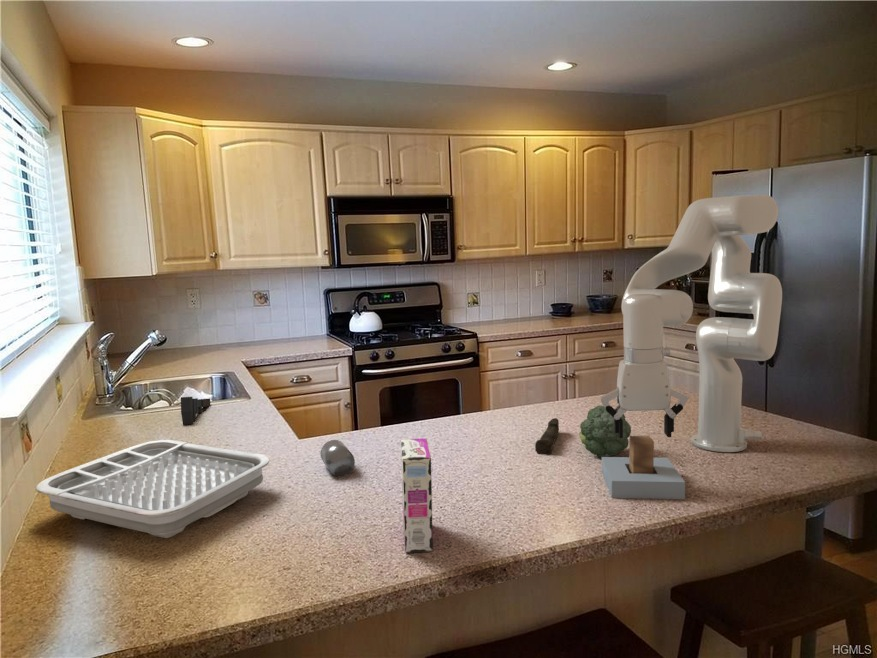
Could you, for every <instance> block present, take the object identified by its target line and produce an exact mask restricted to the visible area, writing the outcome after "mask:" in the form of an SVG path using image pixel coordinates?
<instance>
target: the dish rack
mask: <svg viewBox="0 0 877 658" xmlns="http://www.w3.org/2000/svg"><path fill="white" fill-rule="evenodd" d="M270 462H271V460H270V458H269V457H268V456H267V455H265V454H261V453H260V454H259V453H255V452H248V451H247V452H246V451H242V450H241V451H240V450H235V449H230V448H229V449H228V448H221V447H215V446H208V445H202V444H201V445H200V444H194V443H189V442H187V441H180V440H172V439H158V440H150V441H147V442H146V441H145V442H142V443H138V444H136V445H133V446H130V447H127V448H124V449H121V450H119V451H116V452H113V453H110V454H108V455H105V456H102V457H99V458H96V459H94V460H91V461H89V462H86V463H83V464H81V465H77V466H75V467H72V468H69V469H67V470H63V471H62V472H59V473H57V474H55V475H51V476H50V477H46V478H45V479H43V480H42V481H40V482H39V483H38V484H37V485H36V486H35V491H36V492H37V493H39V494H42V495H46V496H48V498H49V505H50V506H49V507H50V508H51V509H52V510H53V511H56V512H60V513H64V514H68V515H70V516H71V517H72V518H76V519H78V520H79V519H80V520H85V519H87V520H91V521H95V522H98V523H103V524H107V525H111V526H116V527H119V528H124V529H129V530H133V531H138V532H141V533H147V534H149V535H150V536H154V537H159V538H164V539H168V538H172V537H173V536H176V535H177V534H179V533H181V532H183V531H184V530H185V528H186V526H188V525H190V524H192V523H194V522H196V521H197V520H199V519H201V518H209V517H211V516H213V515H215V514H216V513H218V512H220V511H222V510H223V509H225V508H227V507H229V506H230V505H232V504H234V503H235V502H236V501H239V500H240V499H243V498H245V497H246V496H247V495H248V494H249V491H252V490H253V489H255V488H256V487H257V486H260V485H261V484H262V483H263V481H264V476H263V475H264V474H263V468H265V467H266V466H268V465H269V464H270Z"/></svg>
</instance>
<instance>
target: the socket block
mask: <svg viewBox="0 0 877 658" xmlns="http://www.w3.org/2000/svg"><path fill="white" fill-rule="evenodd" d="M601 475H602V477H603V476H604V477H603V479H605V480H604V482H605V485H606V484H607V485H606V487H607V489H609V490H608V492H609V495H610V497H611V498H613V497H614V498H615V499H652V500H653V499H655V500H656V499H658V500H686V481H685V480H684V478H683V477H682V476H681V474H680V473H679V472H678V470H677V469H676V467H675V466H674V464H673V462H672V461H671V460H670V459H669V458H668V457H654V465H653V474H630V473H629V457H627V456H625V457H624V456H623V457H622V456H604V457H602V458H601ZM614 498H613V499H614Z"/></svg>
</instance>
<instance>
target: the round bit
mask: <svg viewBox="0 0 877 658" xmlns="http://www.w3.org/2000/svg"><path fill="white" fill-rule="evenodd" d="M319 452H320V454H319V456H320V459H321V462H322V463H323V464H324V465H325V467H326V468H327V470H328V472H329V473H330V474H332V475H333V476H335V477H339V476H340V477H345V476H347V475H349V474H350V473H351V472H352V471H353V469H354V467H355V463H356V462H355V456H354V454H353V453H352V452H351V451H350V450H349V448H348V447H347V446H346V445H345V444H344V442H343V441H341V440H338V439H331V440H328V441H326V442H325V443H324V444H323V445H322V447H321V449H320V451H319ZM344 475H345V476H344Z"/></svg>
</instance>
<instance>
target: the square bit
mask: <svg viewBox="0 0 877 658" xmlns="http://www.w3.org/2000/svg"><path fill="white" fill-rule="evenodd" d="M628 441H629V443H628V444H629V445H628V447H629V452H628V453H629V454H628V455H629V473H630V474H653V465H654V458H655V457H654V456H655V453H654V451H655V447H654V446H655V441H654V440H653V438H652V437H651V436H650V435H630V436H629V440H628Z"/></svg>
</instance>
